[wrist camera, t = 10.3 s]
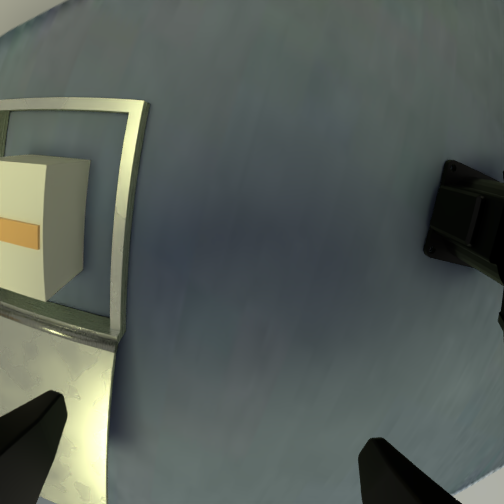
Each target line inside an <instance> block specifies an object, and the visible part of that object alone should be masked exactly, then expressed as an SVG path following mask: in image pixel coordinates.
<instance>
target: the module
mask: <svg viewBox="0 0 504 504" xmlns="http://www.w3.org/2000/svg"><path fill="white" fill-rule="evenodd" d="M90 161H91V160H85V159H76V158H65V157H55V156H43V155H30V154H28V155H17V156H8V157H0V287H1V288H4V289H7V290H10V291H13V292H16V293H19V294H22V295H25V296H28V297H31V298H34V299H38V300H41V301H44V302H46V301H47V300H48V299H50V298H51V297H52V296H53V295H54V294H55V293H56V292H58V291H59V290H60V289H61V288H62V287H63V286H64V285H66V284H67V283H68V282H69V281H70V280H72V279H73V278H74V277H75V276H76V275H77V274H79V273H80V272H81V271H82V270H83V247H84V225H85V209H86V197H87V187H88V177H89V169H90Z"/></svg>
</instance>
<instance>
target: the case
mask: <svg viewBox="0 0 504 504" xmlns="http://www.w3.org/2000/svg"><path fill="white" fill-rule="evenodd" d="M149 107H150V104H149V103H147V102H145V101H141V100H128V99H110V98H79V97H55V98H24V99H8V100H0V157H4V150H5V141H6V134H7V127H8V120H9V114H10V111H40V110H53V111H90V112H109V113H123V114H129V117H128V122H127V127H126V133H125V139H124V144H123V151H122V157H121V164H120V171H119V179H118V187H117V195H116V205H115V215H114V227H113V240H112V257H111V282H110V318H107V317H103V316H99V315H96V314H92V313H88V312H84V311H80V310H77V309H73V308H70V307H66V306H62V305H59V304H56V303H52V302H49V301H46V302H44V301H41V300H38V299H34V298H31V297H28V296H25V295H22V294H19V293H16V292H13V291H10V290H7V289H4V288H1V287H0V417H1V416H3V415H5V414H6V413H8V412H10V411H12V410H14V409H16V408H17V407H19V406H21V405H23V404H25V403H27V402H28V401H30V400H32V399H34V398H36V397H37V396H39V395H41V394H43V393H45V392H46V391H48V390H54V391H56V392H59V393H61V394H63V396H64V399H65V404H66V408H67V412H68V417H67V421H66V424H65V427H64V430H63V433H62V437H61V440H60V443H59V446H58V450H57V453H56V456H55V459H54V462H53V464H52V466H51V469H50V471H49V473H48V476H47V478H46V481H45V483H44V485H43V488H42V490H41V493H40V495H39V496H41V497H43V498H45V499H47V500H50V501H52V502H55V503H57V504H108V444H109V425H110V410H111V398H112V387H113V377H114V368H115V360H116V352H117V349H118V343H119V342H120V340H121V338H122V336H123V335H124V333H125V331H126V301H127V278H128V261H129V248H130V236H131V225H132V216H133V207H134V198H135V190H136V183H137V176H138V169H139V162H140V156H141V150H142V144H143V138H144V133H145V127H146V122H147V117H148V112H149Z"/></svg>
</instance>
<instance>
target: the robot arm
mask: <svg viewBox="0 0 504 504" xmlns="http://www.w3.org/2000/svg"><path fill="white" fill-rule="evenodd" d="M451 165H452V166H453V170H452V171H451ZM503 178H504V171H503ZM431 247H433V249H432V251H431V252H429V251H430V248H431ZM424 253H425V255H427V256H429V257H430V258H435V259H439V260H443V261H447V262H452V263H456V264H460V265H464V266H468V267H472V268H475V269H477V270H479V271H480V272H482V273H484V274H485V275H487V276H489V277H490V278H492V279H493V280H495V281H497V282H498V283H500V284H501V285H503V286H504V183H501V182H499V181H497V180H495V179H493V178H491V177H489V176H487V175H485V174H483V173H481V172H479V171H477V170H474V169H472V168H470V167H468V166H466V165H464V164H462V163H459V162H457V161H455V160H447V161H446V162H445V165H444V170H443V175H442V180H441V184H440V188H439V190H438V194H437V199H436V203H435V207H434V211H433V214H432V218H431V222H430V228H429V231H428V235H427V238H426V242H425V245H424ZM498 322H499V324H500V326H501V328H502V330H503V335H504V290H503V299H502V307H501V312H499V317H498ZM67 417H68V412H67V408H66V404H65V399H64V396H63V394H61V393H59V392H56V391H54V390H48V391H46V392H45V393H43V394H41V395H39V396H37V397H36V398H34V399H32V400H30V401H28V402H27V403H25V404H23V405H21V406H19V407H17V408H16V409H14V410H12V411H10V412H8V413H6V414H5V415H3V416H1V417H0V504H36V502H37V500H38V498H39V495H40V493H41V490H42V488H43V485H44V483H45V481H46V478H47V476H48V473H49V471H50V469H51V466H52V464H53V462H54V459H55V456H56V453H57V450H58V446H59V443H60V440H61V437H62V433H63V430H64V427H65V424H66V421H67ZM358 464H359V474H360V484H361V495H362V502H363V504H462V503H460V502H459V501H458V500H456V499H455V498H454V497H453V496H452V495H450V494H449V493H448V492H447V491H445V490H444V489H443V488H442V487H440V486H439V485H438V484H437V483H436V482H434V481H433V480H432V479H431V478H430V477H428V476H427V475H426V474H425V473H424V472H422V471H421V470H420V469H419V468H418V467H416V466H415V465H414V464H413V463H412V462H411V461H409V460H408V459H407V458H406V457H405V456H404V455H402V454H401V453H400V452H399V451H398V450H397V449H395V448H394V447H393V446H392V445H391V444H390V443H389V442H387V441H386V440H385V439H384V438H381V437H378V438H371V439H369V440H368V441H367V443H366V444H365V446H364V448H363V449H362V450H361V452H360V454H359V457H358Z"/></svg>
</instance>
